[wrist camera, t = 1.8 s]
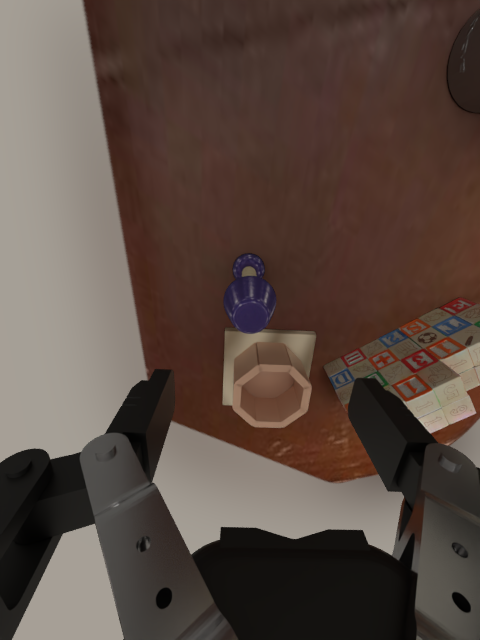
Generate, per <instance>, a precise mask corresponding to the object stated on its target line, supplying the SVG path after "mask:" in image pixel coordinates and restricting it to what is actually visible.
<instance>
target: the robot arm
mask: <svg viewBox="0 0 480 640" xmlns="http://www.w3.org/2000/svg"><path fill="white" fill-rule="evenodd" d="M448 83H449V89H450V91H451V94H452V96H453V98H454V100H455V101H456V102H457V104H458V105H459V106H461V107H462V108H463V109H465V110H467V111H470V112H474V113H480V9H479V10H478V11H477V12H476V13H475V14H474V15H473V16H472V17H471V18H470V19H469V20H468V21H467V23H466V24H465V25H464V27H463V28H462V30H461V31H460V33H459V35H458V37H457V39H456V41H455V43H454V46H453V48H452V51H451V54H450V59H449V64H448ZM174 408H175V386H174V372H173V370H165V369H155V370H154V372H153V374H152V376H151V378H150V380H149V381H143V380H142V381H140V382H139V383H138V384H136V385H135V386H134V387H132V389H131V390H130V392H129V394H128V396H127V398H126V399H125V401H124V402H123V404H122V406H121V407H120V409H119V411H118V412H117V414H116V416H115V418H114V419H113V421H112V423H111V424H110V426H109V428H108V429H107V431H106V433H105V434H104V435H101V436H99V437H97V438H95V439H93V440H92V441H90V442H89V443H88V444H87V445H86V446H85V447H84V448H83V450H82V452H80V453H76V454H73V455H68V456H64V457H59V458H55V459H50V457H49V455H48V453H47V452H46V451H44V450H42V449H28V450H24V451H21V452H18V453H16V454H14V455H12V456H10V457H8V458H7V459H5V460H4V461H2V462H1V463H0V640H12V638H13V636H14V634H15V632H16V630H17V627H18V626H19V623H20V621H21V619H22V617H23V615H24V613H25V611H26V609H27V607H28V605H29V603H30V601H31V599H32V596H33V594H34V592H35V590H36V588H37V586H38V584H39V582H40V580H41V578H42V576H43V574H44V572H45V569H46V567H47V565H48V563H49V561H50V559H51V557H52V555H53V553H54V551H55V549H56V547H57V545H58V542H59V540H60V538H61V536H62V534H63V533H66V532H69V531H73V530H76V529H79V528H82V527H85V526H89V525H92V524H95V525H96V529H97V533H98V537H99V541H100V545H101V548H102V552H103V556H104V560H105V564H106V568H107V572H108V576H109V580H110V584H111V588H112V592H113V596H114V600H115V604H116V608H117V612H118V616H119V620H120V624H121V628H122V632H123V635H124V639H123V640H480V468H477V467H475V465H474V464H473V462H472V461H471V460H470V459H469V458H468V457H466V456H465V455H464V454H463V453H461V452H459V451H458V450H456V449H454V448H452V447H450V446H447V445H444V444H439V443H438V442H437V441H436V440H435V439H434V437H433V436H432V435H431V434H430V433H429V432H428V431H427V429H426V428H425V427H424V426H423V425H422V424H421V422H420V421H419V420H418V419H417V418H416V417H414V414H413V413H412V412H411V411H410V410H409V409H408V407H407V406H406V405H405V404H404V403H403V402H402V400H401V399H400V398H399V397H397V396H396V395H394V394H393V393H391V392H390V391H389V390H385V389H384V387H383V386H382V385H381V384H380V383H379V381H378V380H377V379H375V378H356V379H355V381H354V385H353V389H352V392H351V396H350V400H349V404H348V416H349V419H350V421H351V423H352V425H353V427H354V429H355V431H356V433H357V435H358V436H359V438H360V440H361V442H362V444H363V446H364V448H365V449H366V451H367V453H368V455H369V457H370V459H371V461H372V463H373V464H374V466H375V468H376V470H377V472H378V474H379V476H380V477H381V479H382V481H383V483H384V485H385V487H386V489H387V490H388V491H395V492H402V493H403V495H404V499H403V501H402V505H401V511H400V517H399V522H398V528H397V534H396V540H395V545H394V550H393V554H392V556H391V555H390V554H388V553H386V552H384V551H383V550H381V549H378V548H376V547H374V546H372V545H369V544H368V542H367V540H366V537H365V535H364V532H363V530H325V531H322V532H319V533H315V534H312V535H309V536H305V537H302V538H299V539H290V538H287V537H283V536H280V535H277V534H274V533H271V532H268V531H264V530H261V529H258V528H238V527H237V528H236V527H221V534H220V540H218V541H215V542H212V543H209V544H207V545H205V546H203V547H202V548H200V549H198V550H197V551H195V552H194V553H193V554H192V555H191V554H190V552H189V550H188V548H187V546H186V544H185V542H184V540H183V538H182V536H181V534H180V532H179V530H178V528H177V526H176V524H175V522H174V520H173V518H172V516H171V514H170V512H169V510H168V508H167V506H166V504H165V502H164V500H163V498H162V496H161V494H160V492H159V490H158V488H157V486H156V485H155V484H154V483H152V480H153V477H154V474H155V471H156V468H157V464H158V461H159V458H160V455H161V451H162V448H163V445H164V442H165V439H166V436H167V432H168V429H169V426H170V422H171V420H172V416H173V413H174Z"/></svg>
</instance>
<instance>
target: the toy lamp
mask: <svg viewBox="0 0 480 640" xmlns="http://www.w3.org/2000/svg"><path fill="white" fill-rule="evenodd" d="M264 272H265V267H264V263H263V261H262V260H261V258H259V257H258V256H257V255H254V254H250V253H248V254H243V255H241V256H239V257H238V258H237V259H236V261H235V262H234V264H233V274H234V277H235V279H236V280H235V281H233V282H232V283H231V284H230V285H229V286H228V288H227V290H226V292H225V295H224V308H225V311H226V313H227V315H228V317H229V319H230V320H231V322H232V324H233V325H234V326H235V327H236V328H237V329H238V330H239V331H241V332H243V333H246V334H254V333H258V332H260V331H262V330H263V329H264V328H265V327H266V326H267V325H268V323H269V321H270V319H271V317H272V315H273V313H274V310H275V307H276V295H275V292H274V290H273V288H272V286H271V285H270V284H269V283H268V282H267V281H265V280H264V279H262V277H263V275H264Z"/></svg>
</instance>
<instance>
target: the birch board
mask: <svg viewBox="0 0 480 640" xmlns="http://www.w3.org/2000/svg"><path fill="white" fill-rule="evenodd" d="M315 340H316V333H315V332H314V331H294V330H271V329H263V330H262V331H260V332H258V333H254V334H246V333H243V332H241V331H239V330H238V329H237V328H225V347H224V378H223V405H233V375H234V359H235V358H236V357H237V356H238V355H240V354H241V353H242V352H243V351H245V350H246V349H247V348H248V347H250V346H251V345H252V344H253V343H256V342H272V343H284V344H286V345H287V346H288V348H289V349H290V350H291V351H292V352H293V353H294V354H295V355H296V356H297V357H298V358H299V359H300V360H301V362H302V364H303V367H304V369H305V371H306V374H307V376H308V378H309V374H310V368H311V363H312V357H313V351H314V346H315Z"/></svg>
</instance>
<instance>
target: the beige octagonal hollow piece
mask: <svg viewBox="0 0 480 640" xmlns="http://www.w3.org/2000/svg"><path fill="white" fill-rule="evenodd" d="M311 389H312V385H311V383H310V381H309V378H308V376H307V374H306V371H305V369H304V367H303V364H302V362H301V360H300V359H299V358H298V357H297V356H296V355H295V354H294V353H293V352H292V351H291V350H290V349H289V348H288V346H287V345H286V344H284V343H272V342H256V343H253V344H252V345H251V346H250V347H248V348H247V349H246V350H245V351H243V352H242V353H241V354H240V355H238V356H237V357H236V358H235V359H234V375H233V410H234V411H235V412H236V413H237V414H239V415H240V416H241V417H242V418H243V419H244V420H246V421H247V422H248V423H249V424H250V425H251V426H254V427H270V428H282V426H283V427H285V426H287V425H288V424H290V423H291V422H293V421H294V420H296V419H297V418H299V417H300V416H302V415H303V414H305V413H306V411H308V405H309V400H310V395H311Z"/></svg>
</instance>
